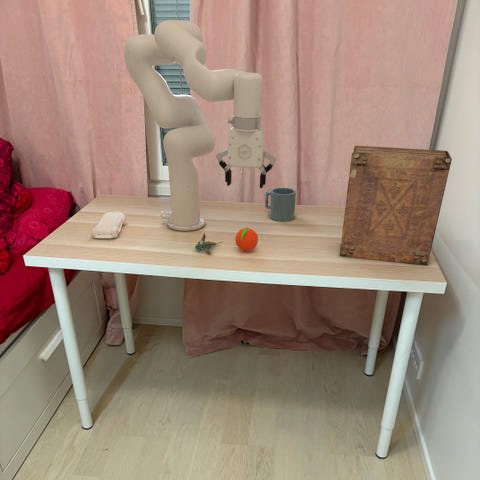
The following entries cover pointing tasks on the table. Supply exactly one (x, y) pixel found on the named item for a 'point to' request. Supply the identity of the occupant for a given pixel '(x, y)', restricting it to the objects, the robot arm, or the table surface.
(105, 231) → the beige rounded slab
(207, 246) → the dragon figurine
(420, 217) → the book
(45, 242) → the table surface
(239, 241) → the clementine
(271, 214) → the blue mug
